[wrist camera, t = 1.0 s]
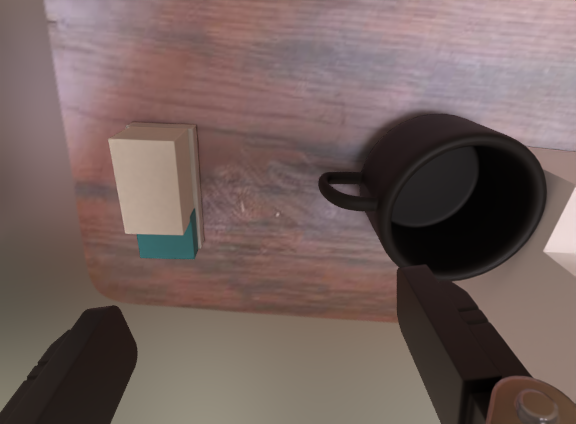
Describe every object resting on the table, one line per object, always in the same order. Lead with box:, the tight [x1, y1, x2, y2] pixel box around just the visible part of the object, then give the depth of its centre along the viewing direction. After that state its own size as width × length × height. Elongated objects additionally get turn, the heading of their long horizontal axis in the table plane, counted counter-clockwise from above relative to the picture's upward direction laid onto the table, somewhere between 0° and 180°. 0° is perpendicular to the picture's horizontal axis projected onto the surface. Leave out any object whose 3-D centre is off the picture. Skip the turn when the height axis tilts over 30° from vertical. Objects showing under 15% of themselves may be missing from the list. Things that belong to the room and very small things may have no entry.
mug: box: [318, 114, 547, 282], centre depth 22 cm, size 12×9×7 cm
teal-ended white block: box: [108, 122, 204, 259], centre depth 23 cm, size 9×4×4 cm, turn 177°
